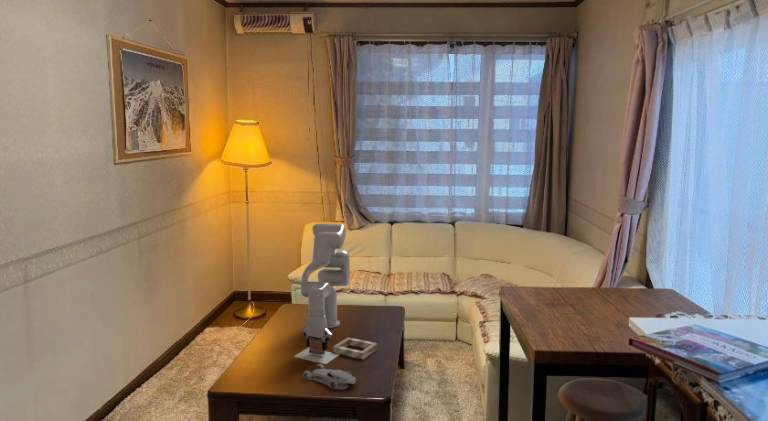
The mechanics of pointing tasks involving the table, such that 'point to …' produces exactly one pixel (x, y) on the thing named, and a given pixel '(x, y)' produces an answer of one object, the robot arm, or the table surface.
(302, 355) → the mat
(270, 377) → the table surface
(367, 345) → the slot holder
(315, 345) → the lighter
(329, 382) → the car model
